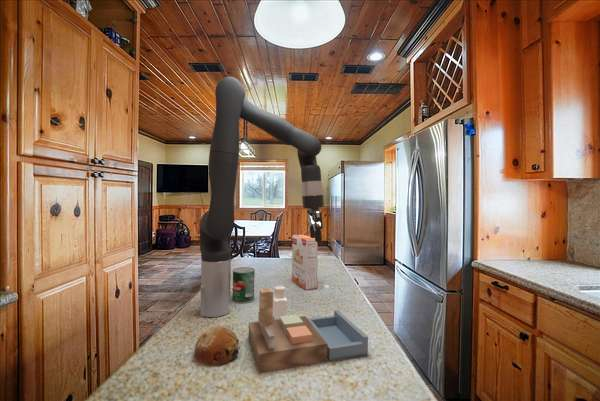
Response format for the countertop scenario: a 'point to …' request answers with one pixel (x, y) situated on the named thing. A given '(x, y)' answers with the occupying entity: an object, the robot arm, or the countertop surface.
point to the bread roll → (217, 346)
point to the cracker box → (304, 261)
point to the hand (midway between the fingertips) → (315, 239)
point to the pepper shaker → (279, 303)
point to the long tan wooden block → (266, 316)
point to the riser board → (285, 348)
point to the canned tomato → (243, 285)
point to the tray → (341, 336)
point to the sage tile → (290, 321)
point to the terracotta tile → (299, 334)
